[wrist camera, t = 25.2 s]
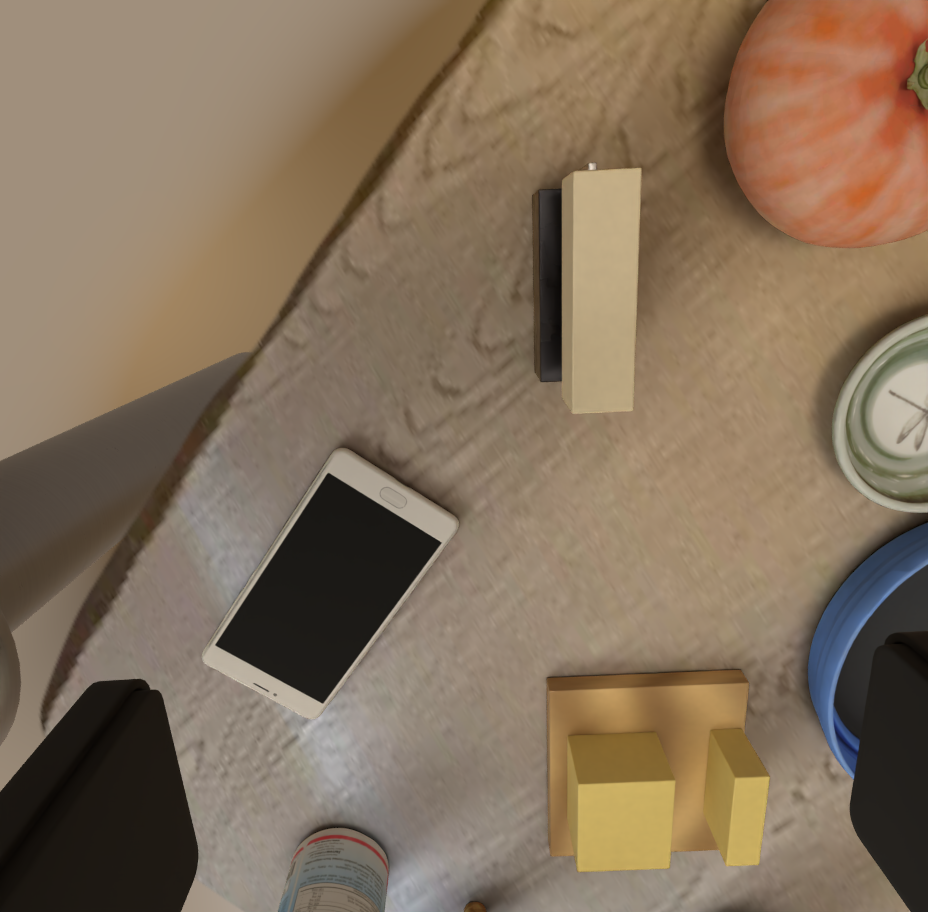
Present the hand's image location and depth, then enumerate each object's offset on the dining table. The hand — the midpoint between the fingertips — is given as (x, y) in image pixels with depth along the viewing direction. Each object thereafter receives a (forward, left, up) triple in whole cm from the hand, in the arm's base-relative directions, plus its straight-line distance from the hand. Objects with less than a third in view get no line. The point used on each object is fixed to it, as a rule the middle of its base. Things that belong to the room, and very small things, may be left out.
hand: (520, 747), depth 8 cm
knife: (+4, +5, -24) cm, 25 cm away
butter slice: (+13, -23, -23) cm, 35 cm away
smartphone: (-8, -11, -24) cm, 27 cm away
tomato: (+15, +11, -24) cm, 30 cm away
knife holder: (+4, +5, -24) cm, 25 cm away
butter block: (+7, -23, -23) cm, 33 cm away
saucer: (+21, -2, -24) cm, 32 cm away
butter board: (+9, -23, -24) cm, 34 cm away
